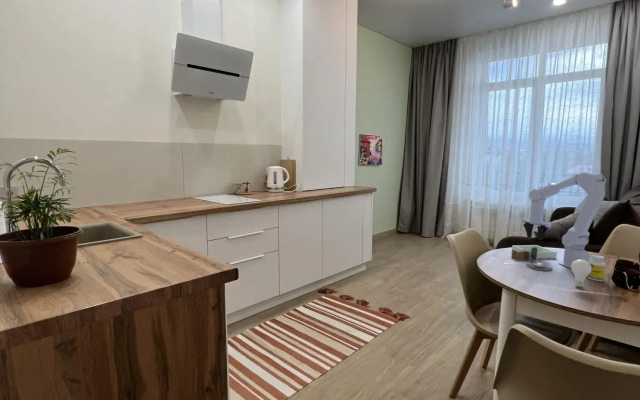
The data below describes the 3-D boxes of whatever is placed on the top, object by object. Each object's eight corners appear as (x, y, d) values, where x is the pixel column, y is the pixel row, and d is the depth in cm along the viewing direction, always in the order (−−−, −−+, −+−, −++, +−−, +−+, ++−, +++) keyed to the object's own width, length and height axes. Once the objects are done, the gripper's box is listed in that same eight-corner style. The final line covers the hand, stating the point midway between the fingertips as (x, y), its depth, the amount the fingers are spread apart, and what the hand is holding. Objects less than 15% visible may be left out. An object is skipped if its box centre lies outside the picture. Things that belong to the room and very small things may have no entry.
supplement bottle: (584, 277, 144) (586, 255, 142) (592, 276, 146) (594, 254, 145) (599, 282, 139) (601, 258, 138) (606, 280, 141) (609, 257, 140)
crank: (547, 268, 154) (548, 254, 153) (534, 267, 155) (535, 253, 155) (538, 260, 167) (539, 247, 166) (527, 259, 168) (528, 246, 168)
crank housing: (548, 265, 160) (548, 264, 160) (555, 272, 151) (555, 271, 151) (501, 261, 166) (501, 260, 166) (505, 267, 157) (505, 266, 157)
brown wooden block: (529, 251, 168) (518, 251, 168) (528, 260, 169) (517, 260, 168) (522, 249, 173) (512, 249, 172) (522, 257, 173) (511, 258, 173)
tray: (556, 259, 172) (556, 252, 171) (530, 259, 170) (530, 252, 170) (535, 251, 185) (536, 245, 185) (511, 252, 184) (512, 245, 183)
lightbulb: (567, 287, 132) (570, 259, 131) (570, 283, 137) (572, 256, 136) (588, 291, 128) (591, 263, 127) (590, 287, 133) (593, 259, 132)
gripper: (556, 214, 170) (553, 241, 171) (529, 210, 183) (527, 235, 185) (546, 215, 167) (544, 242, 169) (519, 210, 181) (517, 236, 182)
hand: (534, 238), depth 177 cm, fingers open, 5 cm apart
